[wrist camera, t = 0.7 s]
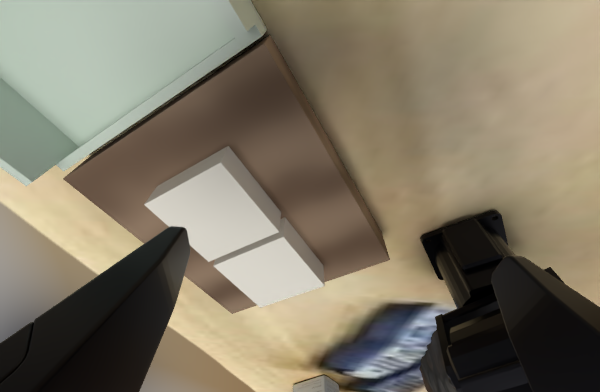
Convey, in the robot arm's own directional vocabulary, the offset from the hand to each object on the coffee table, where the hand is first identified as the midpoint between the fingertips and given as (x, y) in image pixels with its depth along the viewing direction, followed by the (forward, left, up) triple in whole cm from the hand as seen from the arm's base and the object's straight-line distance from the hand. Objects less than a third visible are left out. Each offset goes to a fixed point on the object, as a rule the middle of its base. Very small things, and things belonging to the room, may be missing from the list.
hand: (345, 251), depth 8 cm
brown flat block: (-4, +9, -13) cm, 16 cm away
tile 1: (-2, +9, -10) cm, 14 cm away
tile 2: (-8, +9, -10) cm, 16 cm away
